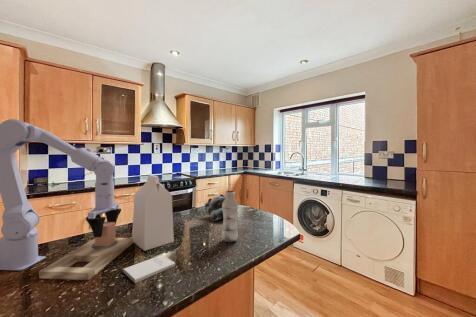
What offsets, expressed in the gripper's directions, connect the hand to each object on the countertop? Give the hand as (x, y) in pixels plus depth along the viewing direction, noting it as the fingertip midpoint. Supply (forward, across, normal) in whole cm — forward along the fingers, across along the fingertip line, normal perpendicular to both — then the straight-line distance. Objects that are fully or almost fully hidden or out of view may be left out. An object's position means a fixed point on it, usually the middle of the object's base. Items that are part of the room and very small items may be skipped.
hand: (104, 232), depth 78 cm
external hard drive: (+7, -11, -21) cm, 25 cm away
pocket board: (+6, -6, 0) cm, 9 cm away
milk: (+6, +9, -14) cm, 17 cm away
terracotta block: (+4, 0, 0) cm, 4 cm away
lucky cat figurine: (+6, +40, -37) cm, 55 cm away
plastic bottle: (+6, +11, -44) cm, 46 cm away
